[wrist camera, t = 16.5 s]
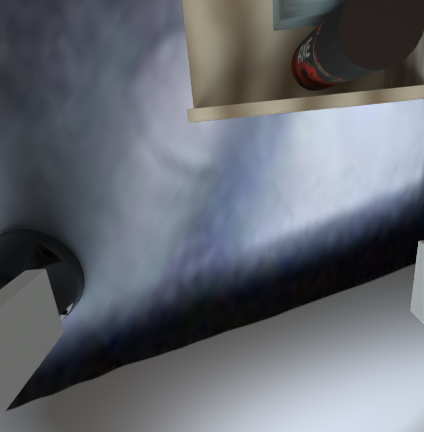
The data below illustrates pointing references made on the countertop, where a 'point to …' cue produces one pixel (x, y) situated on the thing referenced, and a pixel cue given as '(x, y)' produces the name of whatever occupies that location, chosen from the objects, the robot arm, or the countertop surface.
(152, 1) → the countertop surface
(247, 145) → the countertop surface
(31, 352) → the robot arm
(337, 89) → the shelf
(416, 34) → the deodorant
